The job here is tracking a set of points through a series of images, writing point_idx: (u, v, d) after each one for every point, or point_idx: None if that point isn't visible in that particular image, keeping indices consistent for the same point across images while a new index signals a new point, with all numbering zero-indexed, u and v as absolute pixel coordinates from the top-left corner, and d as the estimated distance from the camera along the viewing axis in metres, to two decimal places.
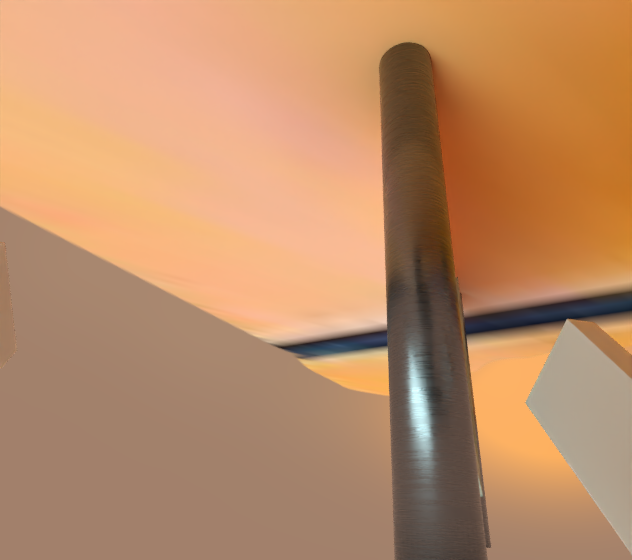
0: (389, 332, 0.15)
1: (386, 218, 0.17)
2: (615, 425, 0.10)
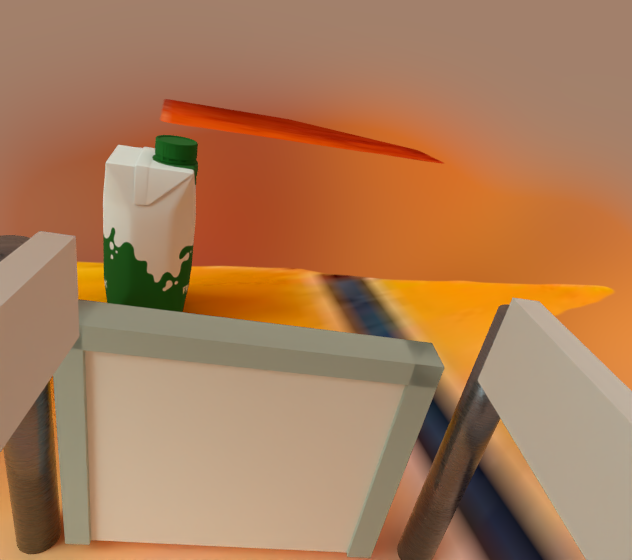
0: None
1: None
2: (548, 394, 0.10)
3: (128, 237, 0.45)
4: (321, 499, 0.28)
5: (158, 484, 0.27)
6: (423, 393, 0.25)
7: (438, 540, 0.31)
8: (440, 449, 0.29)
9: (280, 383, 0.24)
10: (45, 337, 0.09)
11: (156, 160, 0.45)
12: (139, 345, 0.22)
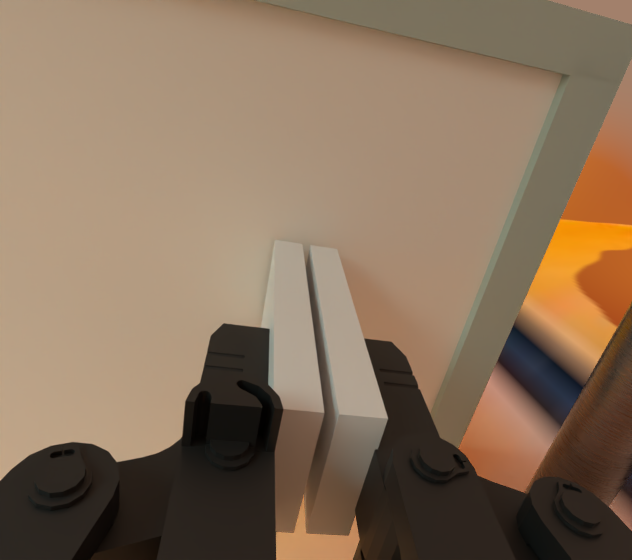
0: None
1: None
2: None
3: None
4: None
5: (55, 345, 0.13)
6: (593, 100, 0.12)
7: (609, 501, 0.16)
8: None
9: (314, 65, 0.11)
10: None
11: None
12: None
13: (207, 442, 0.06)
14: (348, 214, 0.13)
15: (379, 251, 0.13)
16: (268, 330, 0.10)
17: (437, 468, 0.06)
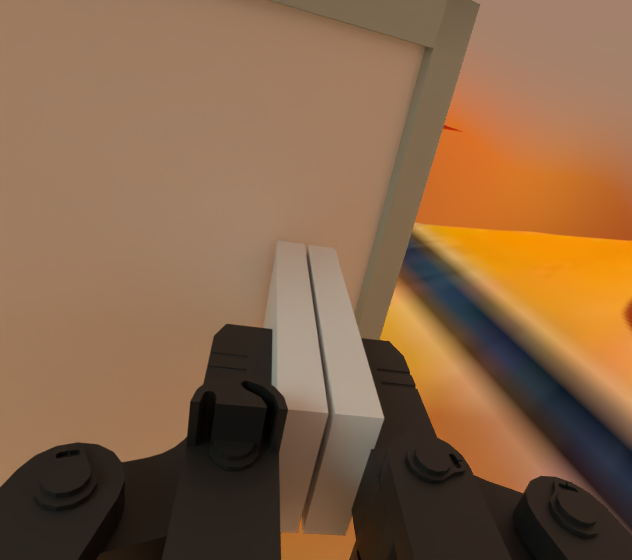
0: None
1: None
2: None
3: None
4: None
5: None
6: (448, 69, 0.14)
7: None
8: None
9: (215, 44, 0.09)
10: None
11: None
12: None
13: (212, 442, 0.06)
14: (260, 207, 0.12)
15: (290, 238, 0.13)
16: (271, 330, 0.10)
17: (433, 468, 0.06)
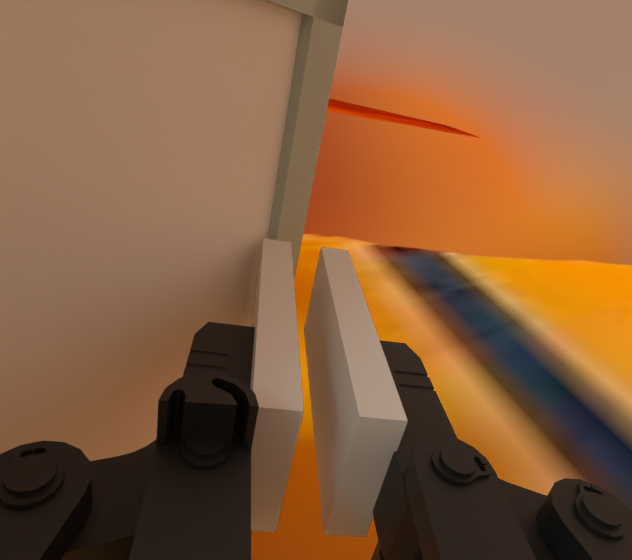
0: None
1: None
2: (322, 329, 0.11)
3: None
4: None
5: None
6: (329, 43, 0.11)
7: None
8: None
9: (8, 13, 0.05)
10: None
11: None
12: None
13: (182, 441, 0.06)
14: (123, 253, 0.08)
15: (168, 282, 0.10)
16: (253, 329, 0.10)
17: (458, 470, 0.06)
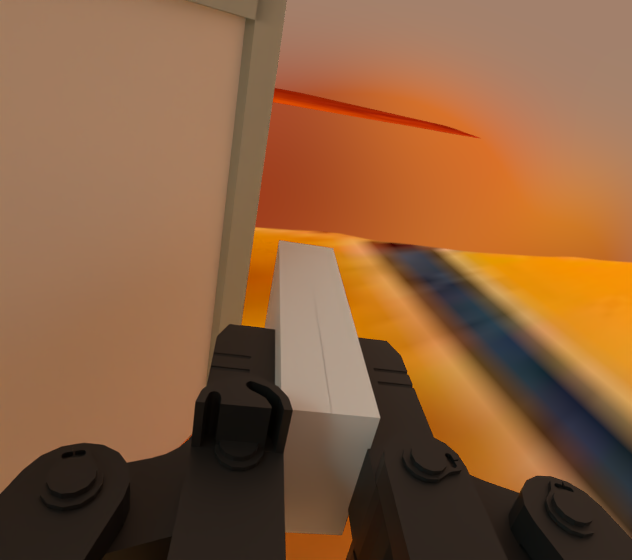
0: None
1: None
2: None
3: None
4: (160, 357, 0.14)
5: None
6: (270, 42, 0.13)
7: None
8: None
9: (10, 24, 0.07)
10: None
11: None
12: None
13: (217, 442, 0.06)
14: (100, 215, 0.10)
15: (139, 243, 0.12)
16: (274, 331, 0.10)
17: (429, 468, 0.06)
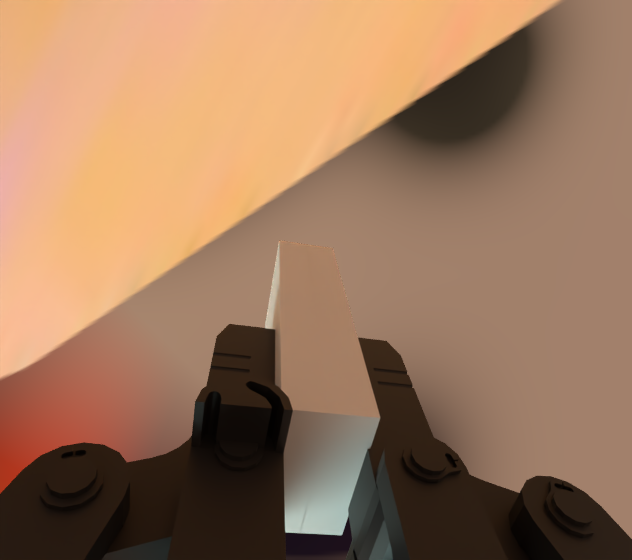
0: None
1: None
2: None
3: None
4: None
5: None
6: None
7: None
8: None
9: None
10: None
11: None
12: None
13: (216, 442, 0.06)
14: None
15: None
16: (274, 331, 0.10)
17: (429, 468, 0.06)
